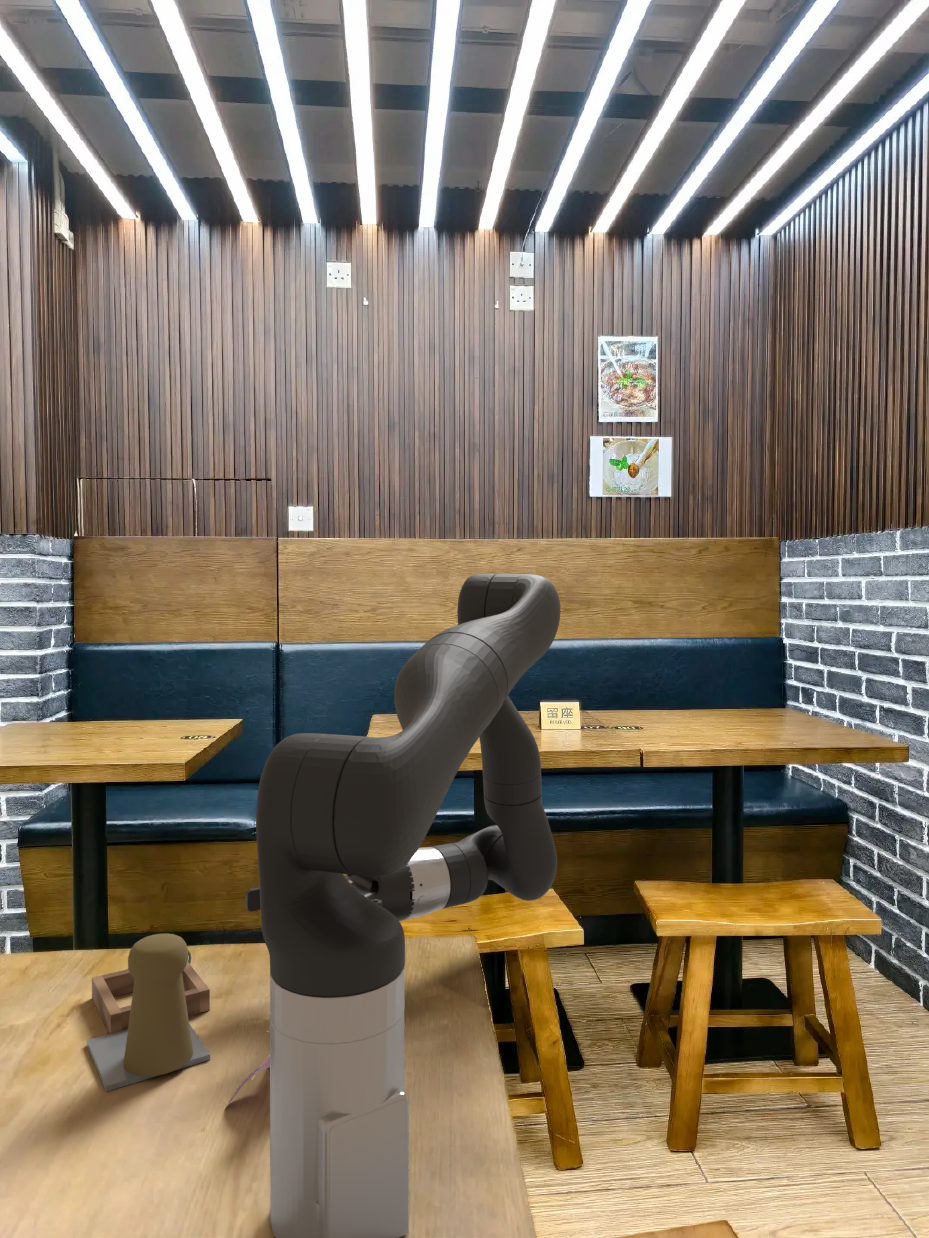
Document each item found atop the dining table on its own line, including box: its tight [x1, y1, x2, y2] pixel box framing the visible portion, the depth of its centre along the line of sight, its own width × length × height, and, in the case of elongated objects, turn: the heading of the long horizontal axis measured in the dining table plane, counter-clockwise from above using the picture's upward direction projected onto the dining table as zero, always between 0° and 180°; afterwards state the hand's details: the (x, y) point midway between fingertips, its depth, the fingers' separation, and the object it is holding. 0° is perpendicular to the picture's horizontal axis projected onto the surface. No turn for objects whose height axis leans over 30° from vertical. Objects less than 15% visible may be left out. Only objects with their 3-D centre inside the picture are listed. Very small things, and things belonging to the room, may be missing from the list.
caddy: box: [91, 960, 211, 1034], centre depth 87 cm, size 10×10×2 cm
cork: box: [124, 933, 193, 1077], centre depth 76 cm, size 6×6×11 cm
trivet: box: [86, 1023, 211, 1092], centre depth 78 cm, size 9×9×1 cm
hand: (260, 913), depth 84 cm, fingers open, 8 cm apart
